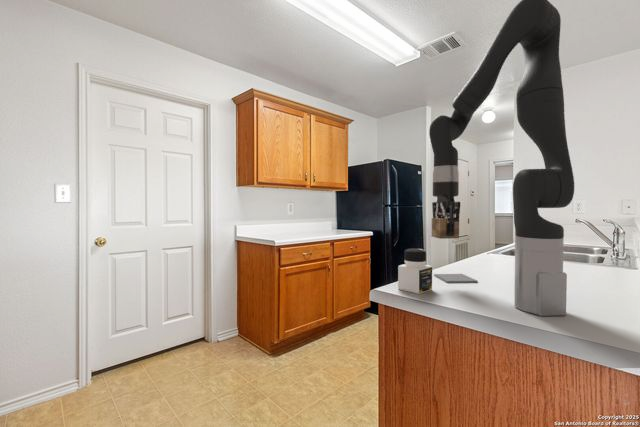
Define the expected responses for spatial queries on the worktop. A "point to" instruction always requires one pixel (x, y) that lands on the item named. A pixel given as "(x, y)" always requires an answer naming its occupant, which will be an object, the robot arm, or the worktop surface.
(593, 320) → the worktop surface
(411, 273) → the medicine bottle
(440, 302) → the worktop surface
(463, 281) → the slate coaster
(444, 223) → the walnut block
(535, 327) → the worktop surface
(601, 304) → the worktop surface
